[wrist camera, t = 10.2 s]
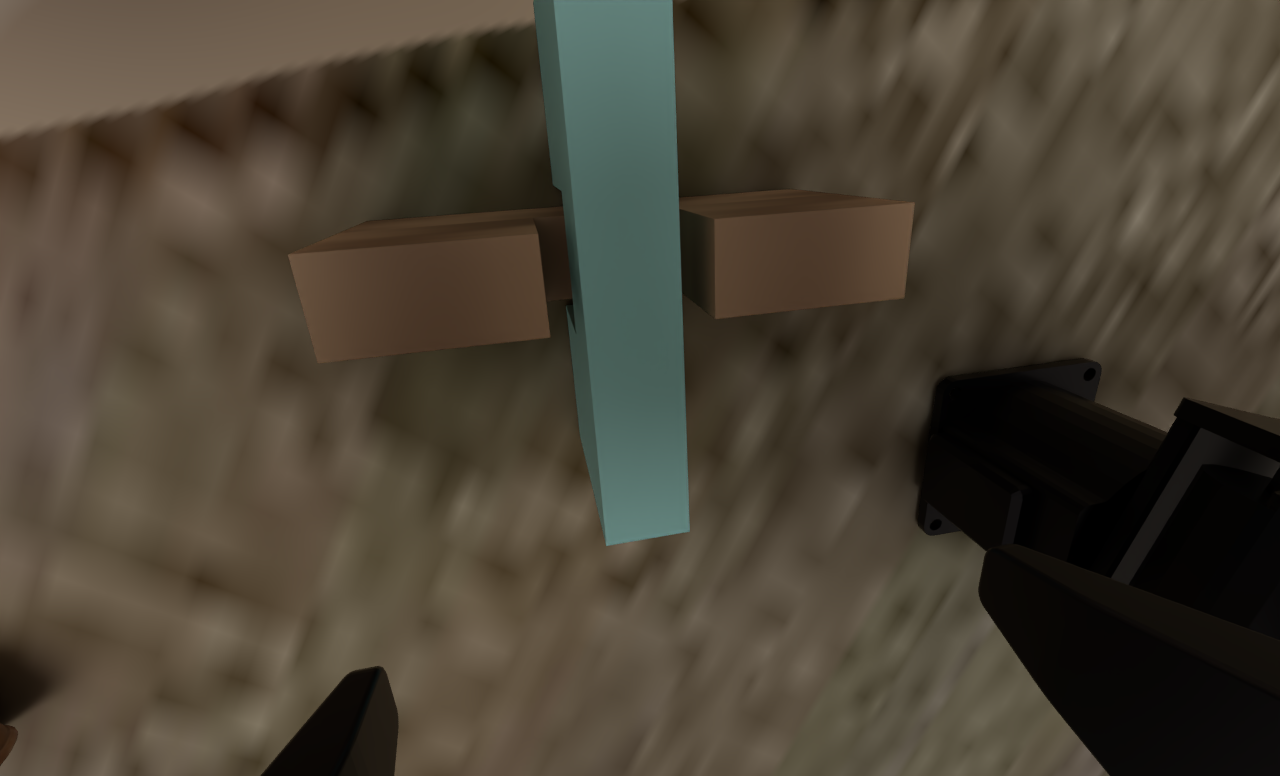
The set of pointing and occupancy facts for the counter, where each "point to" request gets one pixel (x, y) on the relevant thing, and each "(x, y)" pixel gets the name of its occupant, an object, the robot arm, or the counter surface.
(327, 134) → the counter surface
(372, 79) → the counter surface
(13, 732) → the tin
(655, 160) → the notched teal slat
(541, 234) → the notched walnut block
